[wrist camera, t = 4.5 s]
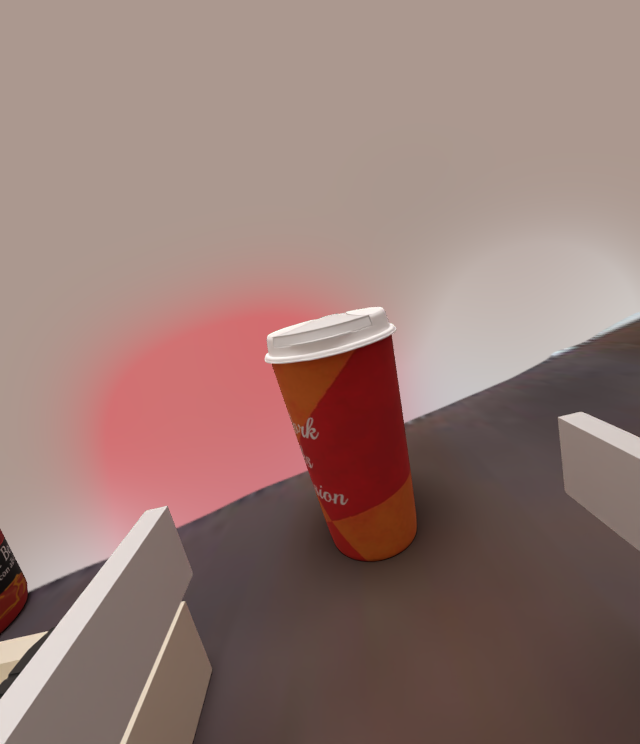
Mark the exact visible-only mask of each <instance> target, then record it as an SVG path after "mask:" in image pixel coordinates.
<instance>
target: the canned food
mask: <svg viewBox="0 0 640 744" xmlns="http://www.w3.org/2000/svg"><path fill="white" fill-rule="evenodd" d="M27 595H28V590H27V582H26V579H25V577H24V575H23V573H22V571H21V569H20V567H19V565H18V563H17V561H16V560H15V557H14V555H13V553H12V551H11V549H10V547H9V545H8V543H7V541H6V539H5V537H4V535H3V534H2V531H1V529H0V633H1V632H2V631H3V630H4V629H6V628H7V627H8V625H9V624H10V623H11V622H12V621H13V620H14V619H15V618H16V616H17V615H18V614H19V612H20V611H21V609H22V608H23V606H24V604H25V602H26V600H27Z"/></svg>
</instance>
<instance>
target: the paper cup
mask: <svg viewBox="0 0 640 744" xmlns="http://www.w3.org/2000/svg"><path fill="white" fill-rule="evenodd" d="M395 331H396V327H395V326H394V325H393V324H391V323H389V321H388V318H387V315H386V312H385V310H384V309H383V308H382V307H372V308H364V309H358V310H353V311H348V312H346V314H345V313H342V314H333V315H329V316H325V317H321V319H317V320H310V321H307V322H303V323H299V324H296V325H293V326H289V327H287V328H283V329H281V330H278V331H275V332H273V333H271V334H269V335H268V337H267V346H268V353H267V354H266V356H265V362H267V363H270V364H272V366H273V369H274V372H275V375H276V378H277V380H278V384H279V387H280V390H281V392H282V395H283V398H284V401H285V404H286V407H287V410H288V413H289V416H290V419H291V422H292V425H293V428H294V430H295V433H296V436H297V439H298V442H299V445H300V448H301V451H302V454H303V456H304V460H305V462H306V465H307V468H308V471H309V474H310V477H311V480H312V483H313V486H314V489H315V491H316V494H317V497H318V500H319V503H320V506H321V509H322V511H323V514H324V517H325V520H326V522H327V525H328V528H329V531H330V533H331V536H332V538H333V541H334V543H335V545H336V547H337V548H338V549H339V551H340V552H341V553H343V554H344V555H346V556H347V557H349V558H352V559H355V560H359V561H379V560H384V559H387V558H390V557H393V556H395V555H397V554H399V553H400V552H402V551H403V550H405V549H406V548H407V547H408V546H409V545H410V544H411V543H412V541H413V539H414V538H415V535H416V531H417V520H416V510H415V501H414V493H413V486H412V478H411V471H410V463H409V456H408V449H407V442H406V434H405V427H404V420H403V413H402V406H401V399H400V392H399V385H398V378H397V371H396V364H395V356H394V349H393V342H392V334H393V333H394V332H395Z"/></svg>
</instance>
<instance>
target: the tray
mask: <svg viewBox="0 0 640 744" xmlns="http://www.w3.org/2000/svg"><path fill="white" fill-rule="evenodd" d="M47 632H48V631H47ZM47 632H43V633H38V634H33V635H29V636H24V637H20V638H15V639H11V640H6V641H2V642H0V684H1V683H2V682H3V680H5V679H7V678H8V674H9V673H10V672H11V670H12V669H13V668H14V667H15V665H16V664H17V663H18V662H19V660H20V659H21V658H22V657H23V655H24V654H25V653H26V652H27V650H28V649H30V648H31V647H32V646H33V645H34V644H35V643H36V642H37V641H38V640H39V639H40V638H42V637H43V636H44V635H45V634H46V633H47ZM211 673H212V667H211V664H210V662H209V659H208V657H207V654H206V652H205V649H204V647H203V644H202V642H201V639H200V637H199V634H198V632H197V629H196V627H195V624H194V622H193V619H192V617H191V614H190V612H189V609H188V607H187V604H186V602H185V601H183V602H181V603H180V605H179V608H178V610H177V612H176V615H175V617H174V619H173V622H172V624H171V626H170V629H169V631H168V633H167V636H166V638H165V640H164V643H163V645H162V647H161V650H160V652H159V654H158V657H157V659H156V661H155V664H154V666H153V668H152V670H151V673H150V675H149V677H148V680H147V682H146V684H145V687H144V689H143V691H142V694H141V696H140V698H139V701H138V703H137V705H136V708H135V710H134V712H133V715H132V717H131V719H130V722H129V724H128V726H127V729H126V731H125V733H124V736H123V738H122V740H121V743H120V744H192V743H193V740H194V736H195V732H196V728H197V725H198V721H199V717H200V714H201V710H202V706H203V702H204V699H205V695H206V691H207V687H208V684H209V680H210V676H211Z"/></svg>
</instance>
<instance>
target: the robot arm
mask: <svg viewBox="0 0 640 744" xmlns="http://www.w3.org/2000/svg"><path fill="white" fill-rule="evenodd" d="M558 424H559V434H560V445H561V455H562V466H563V476H564V487H565V492H566V493H567V494H568V495H569V496H571V497H572V498H573V499H574V500H576V501H577V502H578V503H579V504H581V505H582V506H583V507H584V508H586V509H587V510H588V511H589V512H591V513H592V514H593V515H594V516H596V517H597V518H598V519H599V520H601V521H602V522H603V523H605V524H606V525H607V526H608V527H610V528H611V529H612V530H613V531H615V532H616V533H617V534H618V535H620V536H621V537H622V538H623V539H625V540H626V541H627V542H628V543H630V544H631V545H632V546H633V547H635V548H636V549H637V550H639V551H640V438H639V437H637V436H635V435H633V434H631V433H628V432H626V431H624V430H622V429H619V428H617V427H615V426H613V425H610V424H608V423H606V422H604V421H601V420H599V419H597V418H595V417H592V416H590V415H588V414H586V413H583V412H578V413H574V414H570V415H565V416H561V417H558ZM192 575H193V572H192V569H191V567H190V564H189V562H188V559H187V556H186V554H185V551H184V548H183V546H182V543H181V540H180V538H179V535H178V532H177V530H176V527H175V525H174V522H173V519H172V516H171V514H170V511H169V509H168V506H165V507H161V508H156V509H152V510H148V511H145V512H144V514H143V515H142V516H141V518H140V519H139V520H138V521H137V523H136V524H135V525H134V527H133V528H132V529H131V531H130V532H129V533H128V534H127V536H126V537H125V538H124V540H123V541H122V542H121V544H120V545H119V546H118V547H117V549H116V550H115V551H114V553H113V554H112V555H111V556H110V558H109V559H108V560H107V562H106V563H105V564H104V566H103V567H102V568H101V569H100V571H99V572H98V573H97V575H96V576H95V577H94V579H93V580H92V581H91V582H90V584H89V585H88V586H87V588H86V589H85V590H84V591H83V593H82V594H81V595H80V597H79V598H78V599H77V601H76V602H75V603H74V604H73V606H72V607H71V608H70V610H69V611H68V612H67V614H66V615H65V616H64V617H63V619H62V620H61V621H60V623H59V624H58V625H57V626H56V627H54V628H51V629H50V630H49V631H48V632H47V633H46V634H45V635H44V636H43V637H42V638H40V639H39V640H38V641H37V642H36V643H35V644H34V645H33V646H32V647H31V648H30V649H28V650H27V652H26V653H25V654H24V655H23V657H22V658H21V659H20V660H19V662H18V663H17V664H16V665H15V667H14V668H13V669H12V670H11V672H10V673H9V674H8V678H7V679H5V680H3V682H2V683H1V684H0V744H120V743H121V740H122V738H123V736H124V733H125V731H126V729H127V726H128V724H129V722H130V719H131V717H132V715H133V712H134V710H135V708H136V705H137V703H138V701H139V698H140V696H141V694H142V691H143V689H144V687H145V684H146V682H147V680H148V677H149V675H150V673H151V670H152V668H153V666H154V664H155V661H156V659H157V657H158V654H159V652H160V650H161V647H162V645H163V643H164V640H165V638H166V636H167V633H168V631H169V629H170V626H171V624H172V622H173V619H174V617H175V615H176V612H177V610H178V608H179V605H180V603H181V601H182V598H183V596H184V594H185V591H186V589H187V587H188V584H189V582H190V580H191V578H192Z"/></svg>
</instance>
